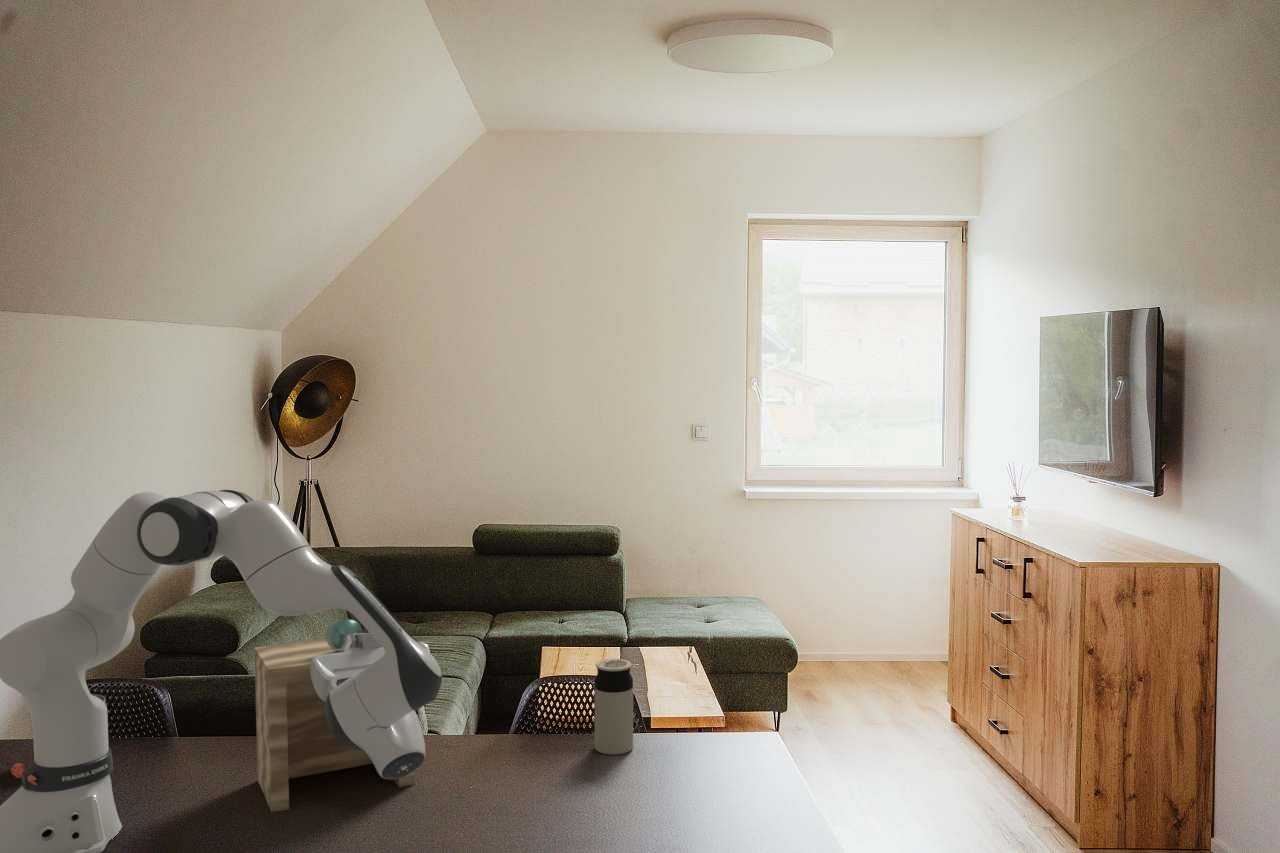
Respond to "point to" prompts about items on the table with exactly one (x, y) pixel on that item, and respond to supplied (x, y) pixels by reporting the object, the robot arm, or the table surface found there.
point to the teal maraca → (344, 628)
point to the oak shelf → (295, 722)
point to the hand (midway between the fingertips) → (363, 636)
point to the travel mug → (613, 707)
